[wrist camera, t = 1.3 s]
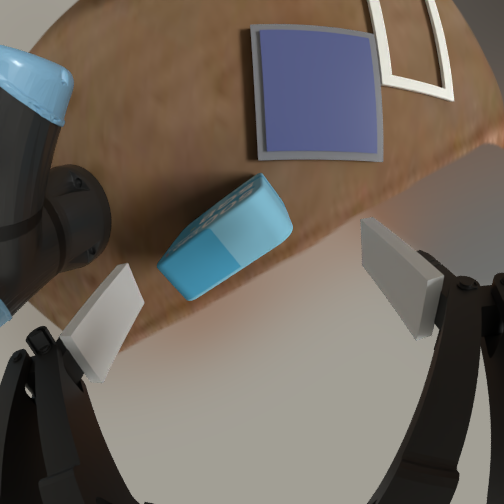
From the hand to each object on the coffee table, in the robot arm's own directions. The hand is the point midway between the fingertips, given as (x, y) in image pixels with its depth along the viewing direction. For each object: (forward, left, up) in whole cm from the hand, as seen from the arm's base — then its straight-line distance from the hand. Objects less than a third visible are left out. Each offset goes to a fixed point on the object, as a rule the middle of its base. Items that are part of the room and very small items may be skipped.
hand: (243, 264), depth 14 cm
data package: (-3, -2, -19) cm, 20 cm away
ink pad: (+8, +13, -19) cm, 24 cm away
